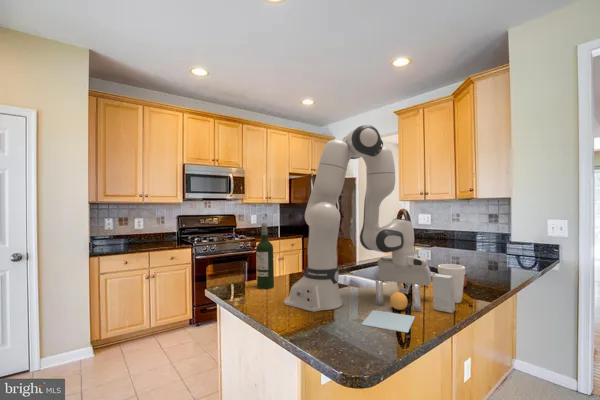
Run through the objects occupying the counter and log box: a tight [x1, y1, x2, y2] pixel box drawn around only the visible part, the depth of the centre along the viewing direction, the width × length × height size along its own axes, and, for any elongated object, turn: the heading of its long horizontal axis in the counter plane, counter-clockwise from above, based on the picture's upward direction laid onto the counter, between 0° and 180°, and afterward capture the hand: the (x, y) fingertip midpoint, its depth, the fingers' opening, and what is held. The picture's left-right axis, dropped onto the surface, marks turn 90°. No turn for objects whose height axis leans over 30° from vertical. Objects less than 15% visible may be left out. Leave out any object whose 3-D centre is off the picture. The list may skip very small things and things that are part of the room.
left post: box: [375, 279, 384, 307], centre depth 113 cm, size 3×3×9 cm
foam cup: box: [437, 263, 466, 304], centre depth 116 cm, size 10×9×13 cm
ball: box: [389, 291, 409, 311], centre depth 108 cm, size 6×6×6 cm
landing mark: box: [361, 309, 416, 334], centre depth 97 cm, size 14×14×1 cm
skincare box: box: [431, 273, 456, 314], centre depth 106 cm, size 6×4×12 cm
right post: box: [411, 284, 422, 312], centre depth 107 cm, size 3×3×9 cm
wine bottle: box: [255, 222, 275, 290], centre depth 142 cm, size 8×8×30 cm
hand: (404, 293), depth 121 cm, fingers closed
